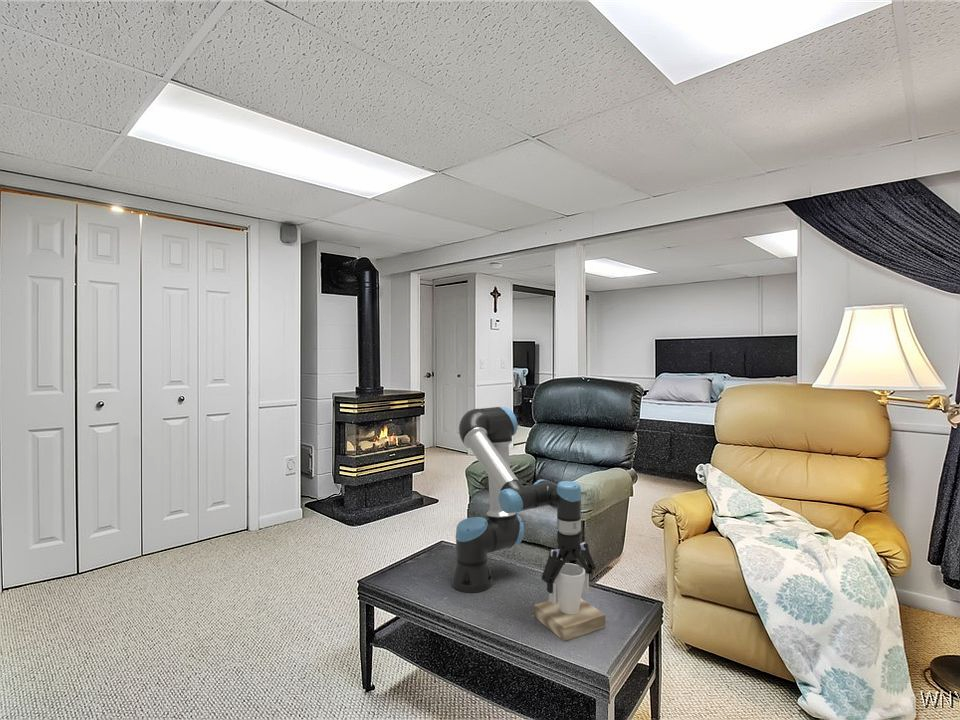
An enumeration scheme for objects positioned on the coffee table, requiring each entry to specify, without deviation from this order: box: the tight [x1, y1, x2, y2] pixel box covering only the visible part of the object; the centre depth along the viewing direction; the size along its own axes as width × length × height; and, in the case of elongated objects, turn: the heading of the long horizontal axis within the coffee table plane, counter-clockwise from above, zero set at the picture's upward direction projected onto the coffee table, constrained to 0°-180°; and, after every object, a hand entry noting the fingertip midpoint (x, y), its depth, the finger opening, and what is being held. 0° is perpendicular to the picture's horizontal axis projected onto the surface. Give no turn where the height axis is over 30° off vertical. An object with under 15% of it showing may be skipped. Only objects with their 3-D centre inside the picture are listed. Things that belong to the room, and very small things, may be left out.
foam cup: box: [555, 562, 585, 615], centre depth 167 cm, size 10×9×13 cm
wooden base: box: [533, 597, 606, 642], centre depth 167 cm, size 16×16×4 cm
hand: (569, 597), depth 167 cm, fingers open, 12 cm apart
